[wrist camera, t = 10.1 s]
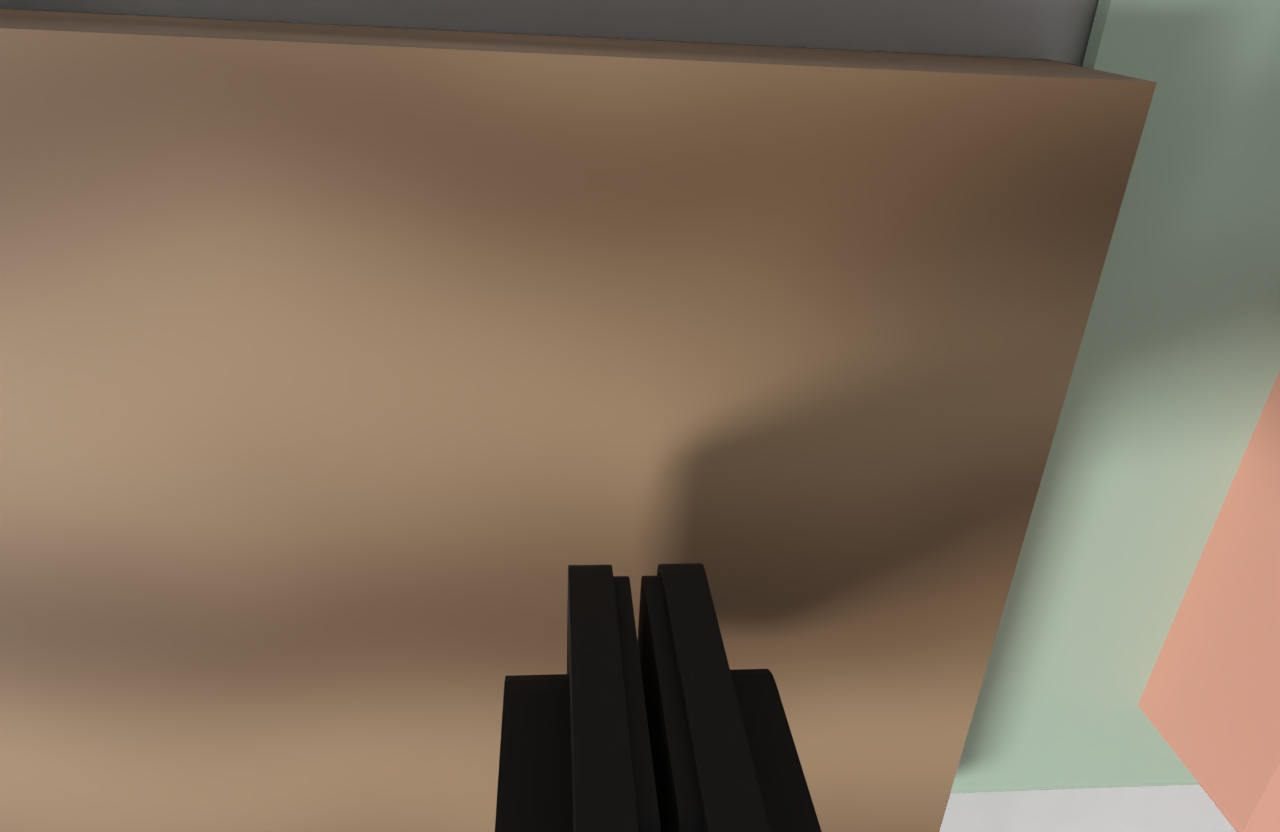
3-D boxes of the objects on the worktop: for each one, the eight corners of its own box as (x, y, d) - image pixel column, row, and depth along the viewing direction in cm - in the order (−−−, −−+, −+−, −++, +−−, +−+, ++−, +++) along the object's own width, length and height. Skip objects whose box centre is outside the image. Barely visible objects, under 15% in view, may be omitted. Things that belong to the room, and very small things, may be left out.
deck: (-407, -12, 11) (-660, -3, 8) (1049, 59, 12) (1155, 82, 10) (-57, 816, 17) (-150, 946, 15) (877, 783, 19) (920, 894, 16)
